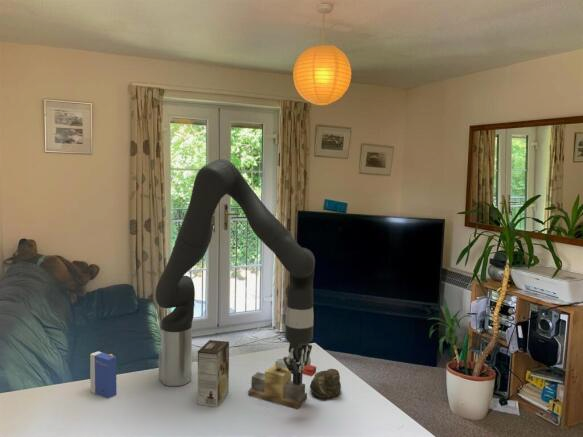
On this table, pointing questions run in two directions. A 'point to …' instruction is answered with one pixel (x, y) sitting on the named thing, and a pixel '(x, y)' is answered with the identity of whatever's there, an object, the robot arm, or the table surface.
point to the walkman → (103, 374)
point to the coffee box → (213, 373)
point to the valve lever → (307, 370)
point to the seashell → (326, 383)
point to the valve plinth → (277, 387)
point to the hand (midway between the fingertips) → (297, 383)
